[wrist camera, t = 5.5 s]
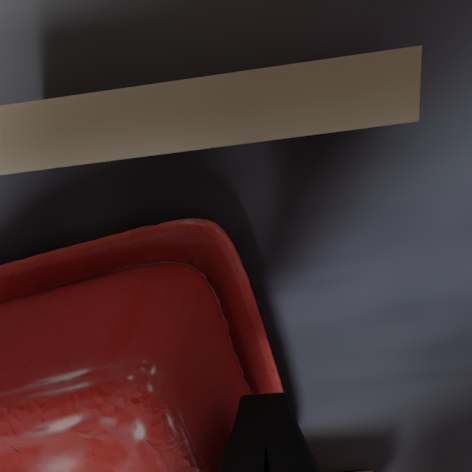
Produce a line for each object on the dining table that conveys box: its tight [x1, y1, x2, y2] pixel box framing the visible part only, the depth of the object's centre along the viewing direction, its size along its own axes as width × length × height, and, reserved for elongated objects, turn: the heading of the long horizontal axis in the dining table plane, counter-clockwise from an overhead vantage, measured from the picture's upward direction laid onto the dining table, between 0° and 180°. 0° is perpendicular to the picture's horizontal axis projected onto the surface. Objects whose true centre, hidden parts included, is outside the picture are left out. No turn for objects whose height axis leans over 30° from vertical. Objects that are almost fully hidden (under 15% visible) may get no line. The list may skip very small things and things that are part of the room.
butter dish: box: [0, 218, 284, 472], centre depth 10 cm, size 12×12×8 cm
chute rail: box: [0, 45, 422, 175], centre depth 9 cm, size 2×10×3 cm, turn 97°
